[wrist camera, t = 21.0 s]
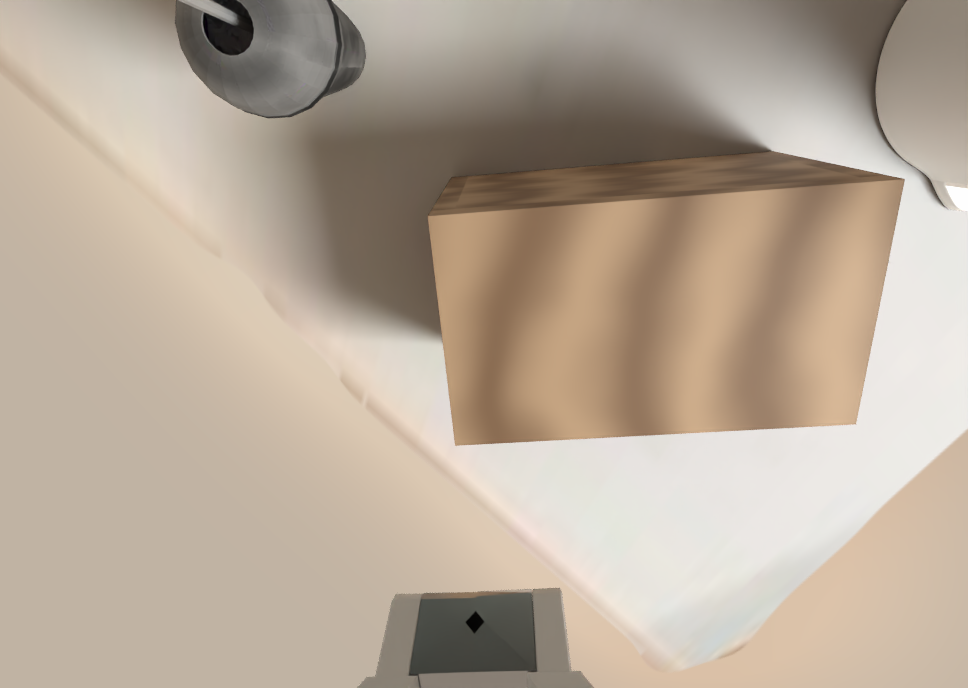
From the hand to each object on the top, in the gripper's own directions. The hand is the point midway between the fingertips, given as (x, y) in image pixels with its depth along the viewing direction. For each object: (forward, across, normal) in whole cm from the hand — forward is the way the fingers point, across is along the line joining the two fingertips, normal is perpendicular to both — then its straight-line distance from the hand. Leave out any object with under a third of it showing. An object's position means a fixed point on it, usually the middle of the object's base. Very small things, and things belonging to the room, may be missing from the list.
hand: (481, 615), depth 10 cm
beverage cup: (+34, +10, -12) cm, 38 cm away
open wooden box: (+34, -8, +3) cm, 35 cm away
